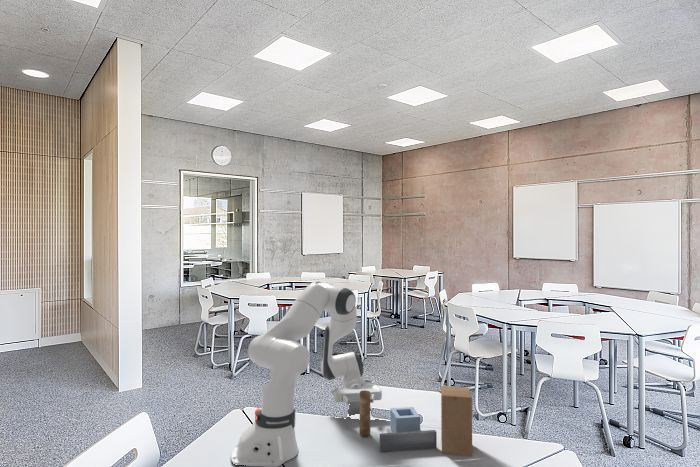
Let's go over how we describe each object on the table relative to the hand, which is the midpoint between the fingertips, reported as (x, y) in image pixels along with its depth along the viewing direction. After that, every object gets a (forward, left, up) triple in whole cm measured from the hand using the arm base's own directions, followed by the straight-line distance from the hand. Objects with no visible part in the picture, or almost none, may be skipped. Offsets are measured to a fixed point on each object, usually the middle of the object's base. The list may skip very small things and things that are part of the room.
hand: (360, 401), depth 162 cm
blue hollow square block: (+15, -11, -9) cm, 21 cm away
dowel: (0, -10, -9) cm, 13 cm away
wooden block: (+30, -24, -9) cm, 39 cm away
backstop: (+13, -15, -9) cm, 22 cm away
